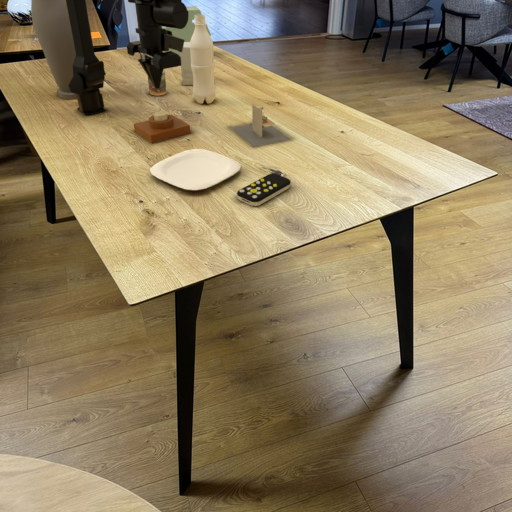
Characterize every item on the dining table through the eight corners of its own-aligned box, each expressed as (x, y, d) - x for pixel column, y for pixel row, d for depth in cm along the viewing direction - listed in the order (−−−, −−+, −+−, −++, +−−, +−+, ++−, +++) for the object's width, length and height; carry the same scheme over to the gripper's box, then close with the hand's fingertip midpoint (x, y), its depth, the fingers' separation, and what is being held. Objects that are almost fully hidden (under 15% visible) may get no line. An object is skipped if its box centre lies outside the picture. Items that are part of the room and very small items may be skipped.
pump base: (151, 143, 126) (149, 128, 124) (134, 131, 133) (132, 117, 130) (190, 132, 132) (189, 118, 130) (172, 121, 139) (171, 108, 136)
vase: (94, 97, 155) (69, -27, 134) (52, 102, 151) (19, -25, 130) (89, 85, 165) (65, -32, 144) (50, 90, 161) (19, -30, 140)
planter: (189, 63, 204) (213, 18, 196) (193, 68, 198) (218, 21, 190) (153, 42, 195) (177, -7, 187) (156, 47, 189) (180, -3, 181)
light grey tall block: (206, 79, 171) (204, 41, 164) (202, 85, 165) (200, 47, 158) (186, 78, 172) (183, 41, 164) (182, 85, 166) (178, 46, 158)
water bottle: (212, 106, 149) (208, 18, 134) (190, 104, 150) (183, 17, 135) (218, 98, 155) (215, 13, 140) (197, 97, 156) (191, 12, 141)
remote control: (293, 187, 107) (293, 179, 106) (255, 208, 100) (255, 200, 99) (272, 178, 111) (272, 170, 109) (234, 198, 103) (233, 190, 102)
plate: (196, 150, 123) (195, 144, 122) (250, 171, 114) (250, 164, 112) (141, 175, 111) (140, 169, 110) (196, 200, 102) (195, 194, 101)
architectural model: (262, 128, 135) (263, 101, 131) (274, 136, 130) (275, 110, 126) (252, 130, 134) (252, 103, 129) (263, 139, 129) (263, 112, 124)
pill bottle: (146, 94, 158) (142, 63, 152) (156, 89, 162) (153, 59, 156) (160, 97, 156) (156, 65, 150) (170, 92, 160) (167, 61, 154)
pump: (158, 123, 128) (157, 116, 127) (152, 119, 131) (151, 112, 130) (170, 120, 130) (169, 113, 129) (163, 116, 132) (163, 110, 131)
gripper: (197, 26, 116) (201, 91, 125) (160, 14, 127) (166, 74, 137) (156, 32, 110) (163, 99, 120) (121, 19, 122) (131, 81, 131)
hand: (157, 88), depth 127 cm, fingers closed
